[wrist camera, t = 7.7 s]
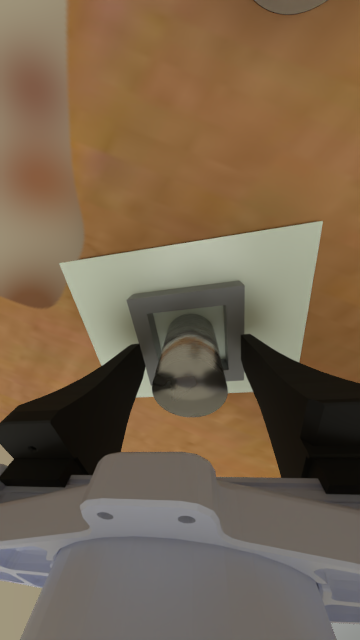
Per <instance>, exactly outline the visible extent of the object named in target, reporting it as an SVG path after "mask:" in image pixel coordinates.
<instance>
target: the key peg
mask: <svg viewBox="0 0 360 640" xmlns="http://www.w3.org/2000/svg"><path fill="white" fill-rule="evenodd" d="M152 393H153V396H154V398H155V400H156V401H157V403H158V404H159V405H160V406H161V407H162V408H164V409H165V410H167V411H168V412H170V413H173V414H175V415H179V416H183V417H201V416H205V415H208V414H211V413H213V412H214V411H216V410H217V409H219V408H220V407H221V406H222V405H223V403H224V402H225V400H226V398H227V394H228V388H227V383H226V379H225V374H224V370H223V366H222V361H221V357H220V353H219V348H218V344H217V340H216V335H215V331H214V328H213V326H212V324H211V323H210V321H209V320H208V319H206V318H205V317H203V316H201V315H198V314H191V313H189V314H183V315H180V316H178V317H177V318H175V319H174V320H173V321H172V322H171V324H170V325H169V327H168V331H167V334H166V338H165V341H164V345H163V348H162V352H161V355H160V359H159V362H158V365H157V369H156V372H155V376H154V379H153V383H152Z"/></svg>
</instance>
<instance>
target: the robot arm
mask: <svg viewBox="0 0 360 640" xmlns="http://www.w3.org/2000/svg"><path fill="white" fill-rule="evenodd" d="M241 362H242V365H243V369H244V372H245V374H246V377H247V379H248V381H249V383H250V386H251V388H252V390H253V392H254V395H255V397H256V399H257V401H258V404H259V406H260V409H261V412H262V415H263V418H264V421H265V424H266V427H267V430H268V434H269V437H270V440H271V443H272V447H273V450H274V453H275V457H276V460H277V464H278V467H279V471H280V474H281V478H250V477H216V474H215V470H214V468H213V467H212V465H211V463H210V462H209V461H208V460H207V459H205V458H203V457H201V456H199V455H197V454H192V453H186V452H121V448H122V443H123V439H124V435H125V431H126V427H127V423H128V419H129V415H130V412H131V409H132V406H133V403H134V401H135V398H136V395H137V393H138V390H139V388H140V385H141V382H142V379H143V376H144V372H145V367H146V365H145V362H144V358H143V355H142V351H141V348H140V344H131V345H129V346H128V347H127V348H125V349H124V350H123V351H121V352H120V353H119V354H117V355H116V356H115V357H113V358H112V359H111V360H109V361H108V362H106V363H105V364H104V365H102V366H101V367H99V368H98V369H96V370H95V371H93V372H92V373H90V374H88V375H87V376H85V377H83V378H82V379H80V380H78V381H76V382H74V383H72V384H70V385H68V386H66V387H64V388H62V389H60V390H57V391H55V392H53V393H50V394H48V395H46V396H43V397H41V398H38V399H35V400H32V401H30V402H27V403H24V404H21V405H19V406H18V407H17V408H15V409H14V410H13V411H12V412H11V413H10V414H9V415H8V416H7V417H6V418H5V419H4V420H3V421H2V422H1V423H0V444H1V445H2V446H3V447H4V449H5V450H6V451H7V452H8V453H9V454H10V455H11V456H12V457H13V458H14V460H13V461H12V462H11V463H10V464H9V466H6V465H4V464H0V580H1V581H7V582H12V583H18V584H24V585H28V586H34V587H40V588H42V590H41V593H40V595H39V597H38V600H37V602H36V604H35V607H34V609H33V611H32V613H31V616H30V618H29V620H28V623H27V625H26V627H25V629H24V632H23V634H22V636H21V639H20V640H336V637H335V634H334V632H333V629H332V626H331V623H349V624H360V383H356V382H352V381H348V380H345V379H342V378H339V377H335V376H332V375H329V374H326V373H324V372H321V371H318V370H316V369H313V368H310V367H308V366H306V365H303V364H301V363H299V362H297V361H295V360H292V359H290V358H288V357H286V356H285V355H283V354H281V353H279V352H277V351H276V350H274V349H272V348H271V347H269V346H268V345H266V344H265V343H263V342H262V341H260V340H259V339H257V338H256V337H254V336H253V335H251V334H242V335H241Z"/></svg>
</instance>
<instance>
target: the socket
mask: <svg viewBox="0 0 360 640" xmlns="http://www.w3.org/2000/svg"><path fill="white" fill-rule="evenodd" d="M322 224H323V221H319V222H312V223H306V224H300V225H294V226H287V227H281V228H275V229H269V230H262V231H256V232H250V233H244V234H238V235H231V236H225V237H219V238H213V239H206V240H200V241H194V242H188V243H182V244H175V245H169V246H163V247H157V248H150V249H144V250H138V251H132V252H125V253H119V254H113V255H107V256H101V257H94V258H88V259H82V260H76V261H69V262H64V263H59V264H60V267H61V269H62V272H63V274H64V276H65V279H66V281H67V284H68V286H69V288H70V291H71V293H72V296H73V298H74V301H75V303H76V305H77V308H78V310H79V313H80V315H81V317H82V320H83V322H84V325H85V327H86V329H87V332H88V334H89V337H90V339H91V342H92V344H93V346H94V349H95V351H96V354H97V356H98V358H99V361H100V363H101V366H102V365H104V364H105V363H106V362H108V361H109V360H111V359H112V358H113V357H115V356H116V355H117V354H119V353H120V352H121V351H123V350H124V349H125V348H127V347H128V346H129V345H131V344H140V348H141V351H142V355H143V358H144V362H145V365H146V367H145V372H144V376H143V379H142V382H141V385H140V388H139V390H138V393H137V395H136V397H154V396H153V393H152V383H153V379H154V376H155V372H156V369H157V365H158V362H159V359H160V355H161V352H162V348H163V345H164V341H165V338H166V334H167V331H168V327H169V325H170V324H171V322H172V321H173V320H174V319H175V318H177V317H178V316H180V315H183V314H189V313H191V314H198V315H201V316H203V317H205V318H206V319H208V320H209V321H210V323H211V324H212V326H213V328H214V331H215V335H216V340H217V344H218V348H219V353H220V357H221V361H222V366H223V370H224V374H225V379H226V383H227V388H228V393H240V392H253V390H252V388H251V386H250V383H249V381H248V379H247V377H246V374H245V372H244V369H243V365H242V362H241V335H242V334H251V335H253V336H254V337H256V338H257V339H259V340H260V341H262V342H263V343H265V344H266V345H268V346H269V347H271V348H272V349H274V350H276V351H277V352H279V353H281V354H283V355H285V356H286V357H288V358H290V359H292V360H295V361H297V362H299V361H300V355H301V349H302V343H303V337H304V331H305V325H306V319H307V313H308V307H309V302H310V296H311V290H312V284H313V278H314V272H315V266H316V260H317V254H318V248H319V242H320V236H321V230H322Z"/></svg>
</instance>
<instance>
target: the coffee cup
mask: <svg viewBox="0 0 360 640" xmlns="http://www.w3.org/2000/svg"><path fill="white" fill-rule="evenodd" d="M254 1H255V2H257V3H258V4H259V5H261V6H262V7H263V8H265V9H267V10H269V11H272V12H275V13H279V14H297V13H302V12H305V11H308V10H311V9H313V8H315V7H317V6H319V5H321V4H322V3H324V2H326V1H327V0H254Z"/></svg>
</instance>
